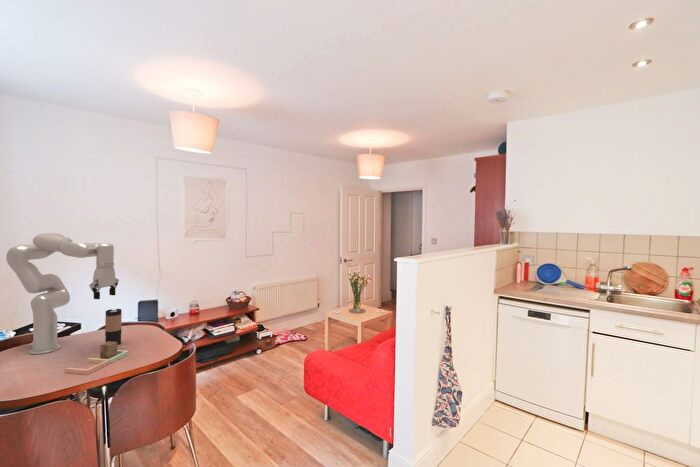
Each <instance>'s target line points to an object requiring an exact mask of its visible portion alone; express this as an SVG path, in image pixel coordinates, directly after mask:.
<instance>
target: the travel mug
mask: <svg viewBox="0 0 700 467" xmlns="http://www.w3.org/2000/svg"><path fill="white" fill-rule="evenodd" d="M122 312H123V311H122V309H121V308H116V309H107V310H105V321H104V322H105V323H104V324H105V326H104V328H105V329H104V330H105V332H104V334H105V335H104V336H105V337H104V338H105V339H104V340H105V343H106V342H109V341H111V342H117V346H119V345H120V344H121V343H122V326H123V325H122V317H123V316H122Z"/></svg>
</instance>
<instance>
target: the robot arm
mask: <svg viewBox="0 0 700 467" xmlns="http://www.w3.org/2000/svg"><path fill="white" fill-rule="evenodd" d="M56 252H57V253H61V254H62V255H64V256H66V257H67V256H68V257H74V258H80V259H81V258H82V259H84V258H90V257H96V259H95V261H96V263H95V265H96V269H94V271H93V278H92V282H91V283H90V284H89V285H88V287H89V288H90V290H91V292H93V300H100V299H101V292H100V291H101V289H102V288H107V287H110V288H109V291H108V292H109V296H116V289H117V286H118V285H119V282H120V279H119V278H116V271H115V268H114V265H115V263H114V262H115V259H114V258H115V254H114V252H115V245H114V244H112V243H100V242H87V243H78V242H73V240H72V239H71V238H69V237H66V236H64V235H63V233H59V232H58V233H56V232H51V233H41V234H40V233H39V234H37V235H36V236H34V237H33V239H32V244H20V245H19V244H18V245H15V246H13V247H10V249H9V250H8V251H7V253H6V256H5V258H6V259H5V260H6V262H7V264H8V266H9V267H10V269H11V270H12V271H13V272H14V273H15V274H16V276H17V278H18V279H19V281H20V283H21V285H22V286H23V287H24V289H25V291H27V293H29V294H34V295H35V294H37V295H35V296H34V297H33V298H32V299H31V301H30V308H31V312H32V319H33V320H32V321H33V322H32V324H33V325H32V326H33V327H32V329H33V330H32V331H33V334H32V335H33V336H32V337H33V338H32V342H31V343H28V346H29V347H31V349H29V351H28V353H29V354H30V355H43V354H48V353H51V352H55V351H57V350H59V349H61V348H62V345H61V344H60V343H58V314H57V313H56V311H55V310H54V309H57V308H61V307H64V306H65V305H67V304H69V302H70V301H71V295H70V293H69V290H68V289H67V287H66V286H65V284H64V282H63V281H62V279H61V278H60V277H59V276H58V275H57V274H54V273H45V274H42V273H41V272H40V270H39V268H38V267H37V266H36V265H35V264H33V263H32V262H30V261H29V260H31V261H32V260H40V259H45V258H48V257H50V256H51V255H53V254H54V253H56ZM39 293H40V294H39Z"/></svg>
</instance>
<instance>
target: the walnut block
mask: <svg viewBox="0 0 700 467" xmlns="http://www.w3.org/2000/svg"><path fill="white" fill-rule="evenodd" d="M99 346H100V347H99V352H100V353H99V359H110V358H112V357H114V356H117V350H118V345H117V342H111V341H109V342H106V341H105V343H104V342H103V343H101V344H100V345H99Z"/></svg>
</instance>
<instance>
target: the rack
mask: <svg viewBox="0 0 700 467" xmlns="http://www.w3.org/2000/svg"><path fill="white" fill-rule="evenodd" d="M129 352H130V351H129V350H122V349H117V356H114V357H112V358H110V359H100V357H99V358H97V357H96V358H95V357H89V358H88V357H87V359H86V362H87V364H96V365H94V366H92V367H89V368H88V369H87V368H78V367H77V368H76V367H75V368H74V367H66V368H64V373H65V374H73V375H84V376H85V375H87V376H88V375H90V374H92V373H94V372H96V371H99V370H100V369H102V368H104V367H106V366H108V365H111V364H113V363H114V362H116V361H119V360H120V359H122V358H124V357H126V356H128V355H129V354H130V353H129ZM129 356H130V355H129Z"/></svg>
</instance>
